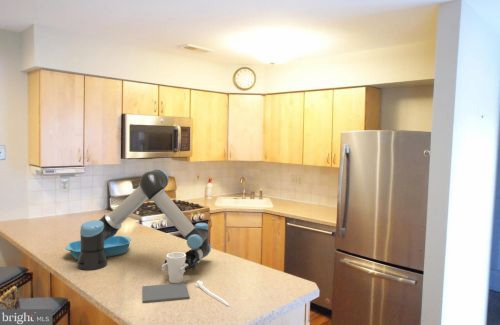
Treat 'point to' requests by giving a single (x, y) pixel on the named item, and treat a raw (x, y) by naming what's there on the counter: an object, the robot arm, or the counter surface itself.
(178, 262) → the foam cup
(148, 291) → the mat
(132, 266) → the counter surface
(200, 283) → the white long knobbed rod
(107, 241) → the casserole dish
